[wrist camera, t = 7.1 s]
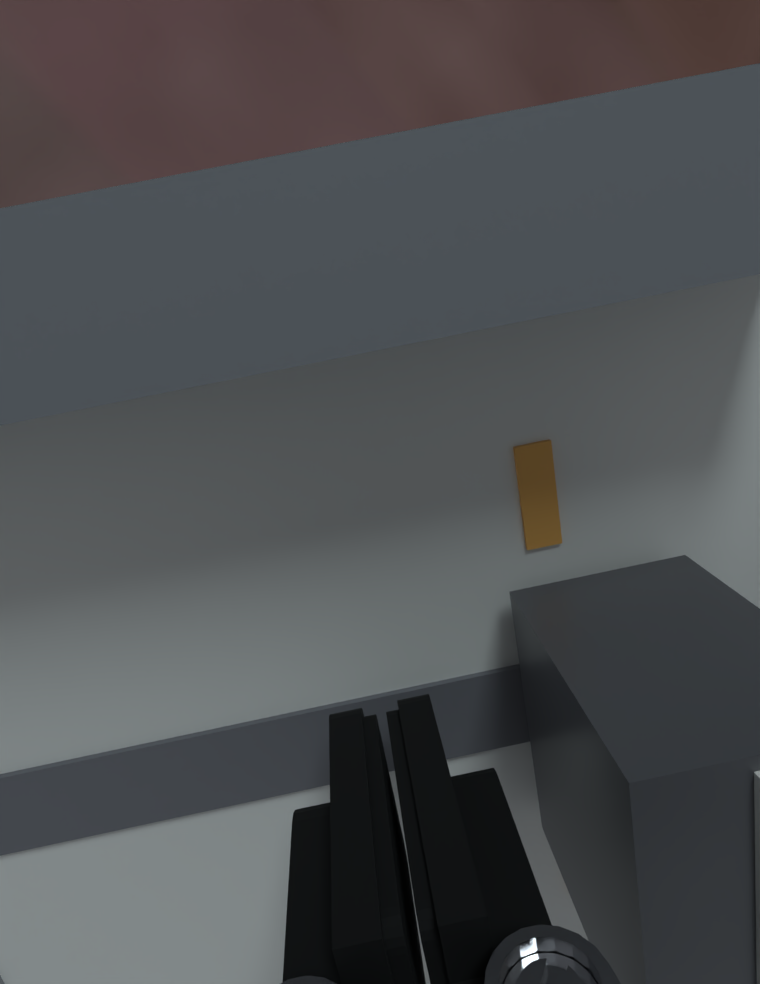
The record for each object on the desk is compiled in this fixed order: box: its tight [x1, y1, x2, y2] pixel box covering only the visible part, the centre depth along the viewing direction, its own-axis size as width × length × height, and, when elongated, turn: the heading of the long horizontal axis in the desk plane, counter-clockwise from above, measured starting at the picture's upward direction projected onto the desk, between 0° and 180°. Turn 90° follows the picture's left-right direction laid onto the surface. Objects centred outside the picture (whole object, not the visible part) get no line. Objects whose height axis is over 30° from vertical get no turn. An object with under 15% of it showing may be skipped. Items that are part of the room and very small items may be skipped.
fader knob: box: [509, 555, 760, 984], centre depth 9 cm, size 3×5×4 cm, turn 11°
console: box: [0, 63, 760, 984], centre depth 11 cm, size 20×18×5 cm
